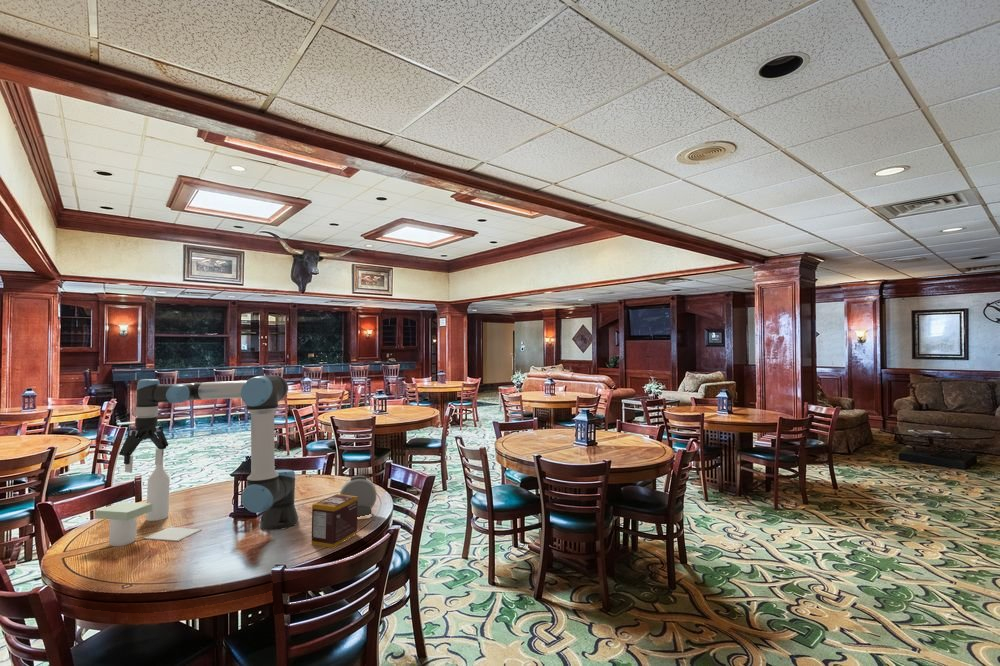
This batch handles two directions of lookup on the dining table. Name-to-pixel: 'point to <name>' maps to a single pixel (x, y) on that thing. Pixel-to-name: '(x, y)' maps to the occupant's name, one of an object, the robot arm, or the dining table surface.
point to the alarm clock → (361, 493)
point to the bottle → (158, 494)
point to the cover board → (123, 511)
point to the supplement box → (334, 520)
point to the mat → (173, 534)
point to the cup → (122, 532)
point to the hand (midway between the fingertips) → (143, 468)
